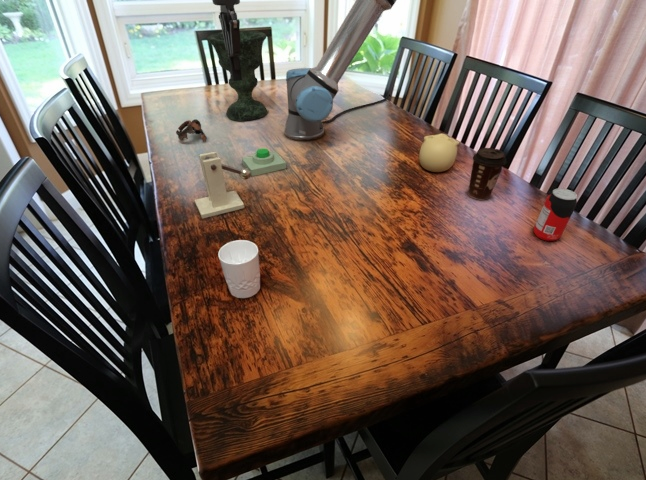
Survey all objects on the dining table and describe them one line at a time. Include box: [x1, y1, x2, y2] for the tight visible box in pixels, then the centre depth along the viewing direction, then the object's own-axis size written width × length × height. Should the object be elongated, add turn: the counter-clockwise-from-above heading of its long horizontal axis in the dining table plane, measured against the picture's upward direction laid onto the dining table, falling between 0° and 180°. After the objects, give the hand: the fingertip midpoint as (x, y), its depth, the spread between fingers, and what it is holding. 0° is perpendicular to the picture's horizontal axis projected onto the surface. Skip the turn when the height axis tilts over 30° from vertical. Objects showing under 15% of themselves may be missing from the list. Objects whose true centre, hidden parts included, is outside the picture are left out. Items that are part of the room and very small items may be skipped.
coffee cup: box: [467, 147, 508, 201], centre depth 108 cm, size 9×8×13 cm
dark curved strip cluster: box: [175, 118, 207, 143], centre depth 144 cm, size 12×10×8 cm
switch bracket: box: [194, 151, 246, 220], centre depth 104 cm, size 12×9×15 cm
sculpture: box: [418, 133, 460, 173], centre depth 122 cm, size 12×12×11 cm
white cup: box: [217, 239, 261, 299], centre depth 79 cm, size 8×8×10 cm
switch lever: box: [205, 156, 252, 180], centre depth 103 cm, size 13×3×3 cm, turn 116°
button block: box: [241, 150, 287, 177], centre depth 126 cm, size 12×10×4 cm
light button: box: [255, 148, 270, 158], centre depth 124 cm, size 4×4×2 cm
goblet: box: [207, 29, 268, 122], centre depth 157 cm, size 22×22×30 cm
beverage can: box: [533, 187, 578, 242], centre depth 92 cm, size 6×6×12 cm
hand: (237, 80), depth 119 cm, fingers closed
